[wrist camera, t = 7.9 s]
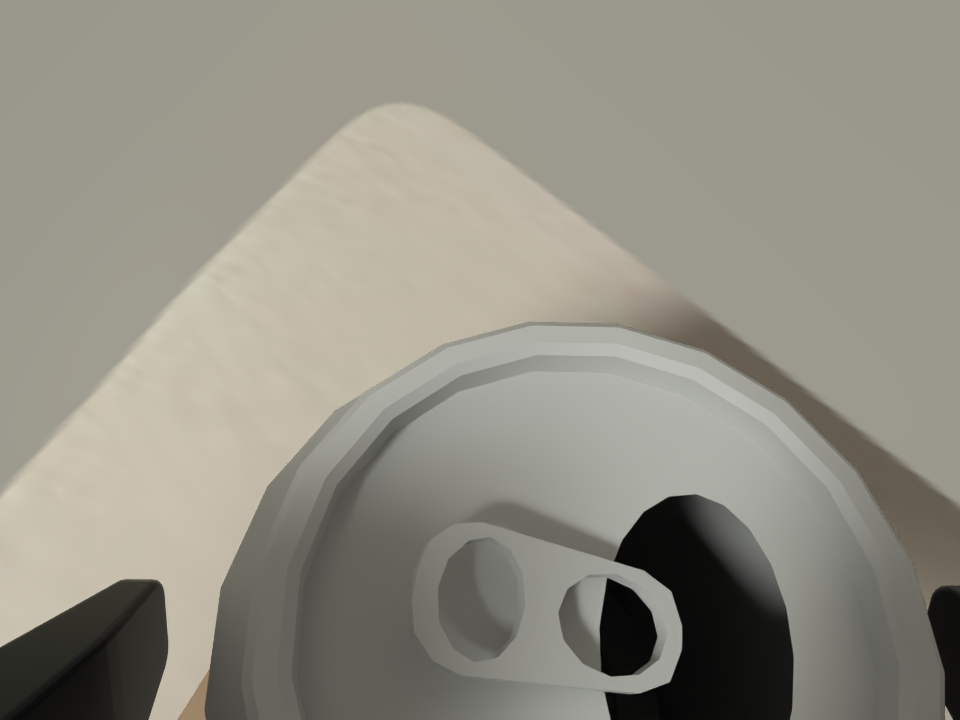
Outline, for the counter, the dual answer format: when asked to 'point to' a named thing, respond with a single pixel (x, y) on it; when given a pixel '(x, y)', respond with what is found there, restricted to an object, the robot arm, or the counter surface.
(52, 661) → the robot arm
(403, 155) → the counter surface
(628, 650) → the can
